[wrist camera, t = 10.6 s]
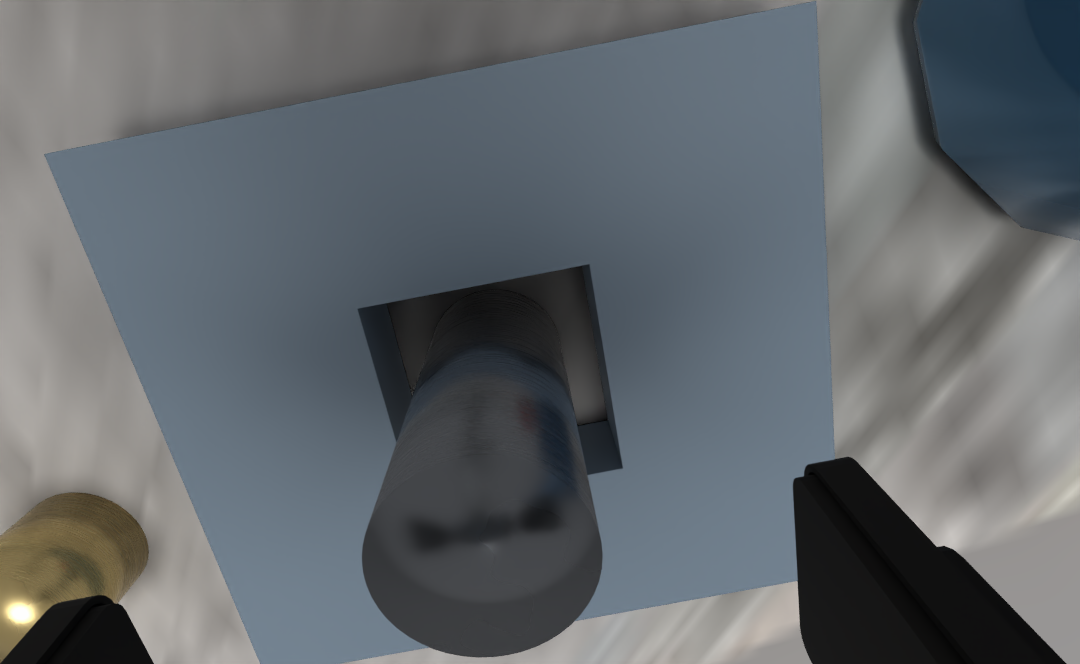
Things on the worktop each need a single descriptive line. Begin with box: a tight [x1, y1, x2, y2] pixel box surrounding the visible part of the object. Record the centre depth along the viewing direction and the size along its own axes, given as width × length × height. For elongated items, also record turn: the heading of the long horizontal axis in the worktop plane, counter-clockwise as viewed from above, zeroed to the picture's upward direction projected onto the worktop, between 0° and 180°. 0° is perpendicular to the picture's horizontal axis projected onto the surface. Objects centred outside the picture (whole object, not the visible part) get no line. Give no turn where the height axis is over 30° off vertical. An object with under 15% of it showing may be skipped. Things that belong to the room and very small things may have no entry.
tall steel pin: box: [362, 290, 603, 657], centre depth 16 cm, size 4×4×10 cm
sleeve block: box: [44, 1, 835, 664], centre depth 19 cm, size 16×18×3 cm
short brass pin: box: [0, 493, 149, 663], centre depth 20 cm, size 4×4×4 cm
